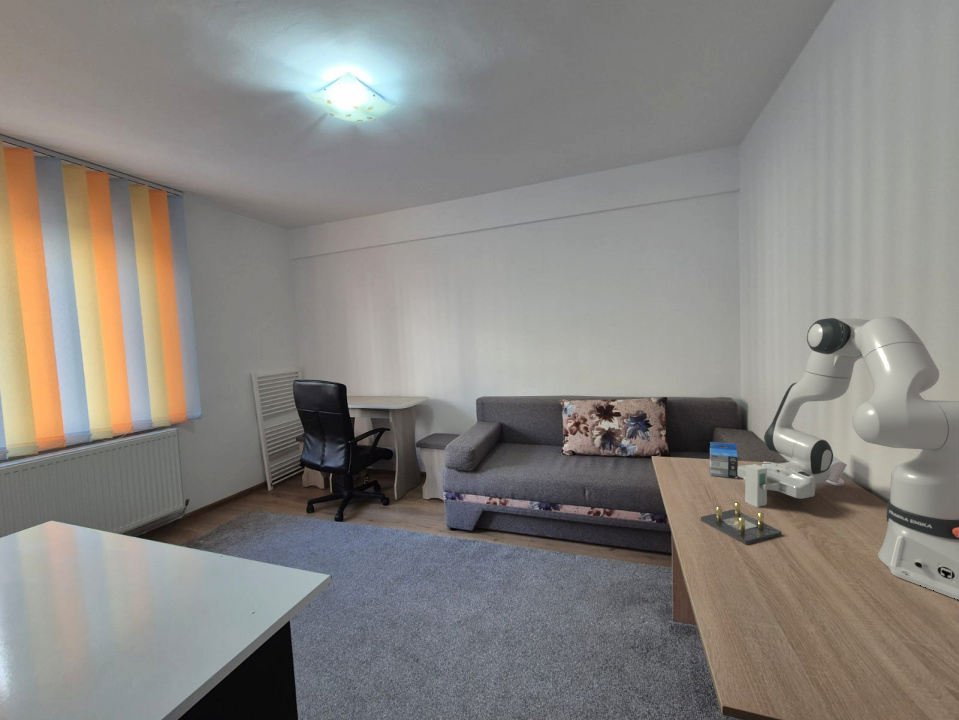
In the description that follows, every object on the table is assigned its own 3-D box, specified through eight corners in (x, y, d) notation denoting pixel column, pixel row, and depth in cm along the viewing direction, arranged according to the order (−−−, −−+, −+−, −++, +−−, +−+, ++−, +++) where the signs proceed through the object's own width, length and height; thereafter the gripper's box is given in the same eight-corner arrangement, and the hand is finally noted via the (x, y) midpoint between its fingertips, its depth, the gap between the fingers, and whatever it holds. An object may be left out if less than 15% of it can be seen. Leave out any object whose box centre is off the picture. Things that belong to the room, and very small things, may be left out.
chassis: (781, 535, 104) (782, 517, 104) (745, 544, 100) (745, 526, 100) (734, 512, 118) (734, 496, 117) (700, 520, 114) (700, 503, 113)
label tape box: (710, 475, 146) (710, 444, 145) (709, 472, 150) (709, 441, 149) (737, 479, 142) (738, 446, 141) (736, 475, 146) (736, 443, 145)
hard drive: (786, 474, 142) (788, 465, 151) (758, 469, 147) (763, 460, 156) (786, 478, 142) (788, 469, 151) (758, 474, 147) (762, 464, 157)
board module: (766, 505, 121) (767, 468, 120) (757, 507, 120) (757, 470, 119) (754, 499, 125) (754, 463, 124) (744, 501, 124) (745, 465, 123)
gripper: (754, 458, 136) (724, 463, 132) (820, 478, 116) (787, 485, 112) (754, 475, 136) (724, 481, 132) (820, 498, 117) (787, 506, 113)
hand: (753, 483), depth 122 cm, fingers closed on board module, 4 cm apart
